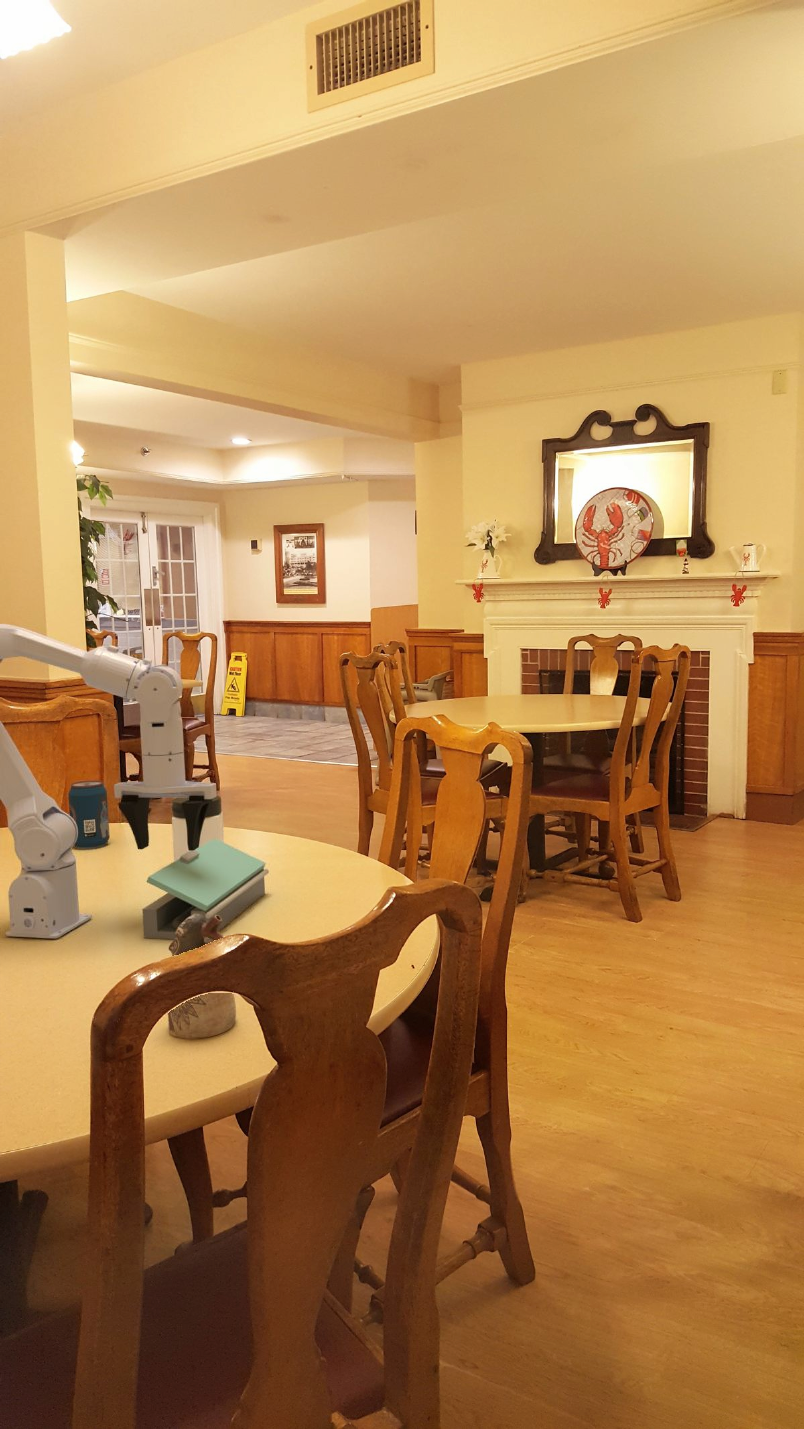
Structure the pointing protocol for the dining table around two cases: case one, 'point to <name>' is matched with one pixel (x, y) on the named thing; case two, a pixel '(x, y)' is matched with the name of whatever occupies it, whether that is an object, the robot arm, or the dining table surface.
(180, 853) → the jar
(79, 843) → the soda can
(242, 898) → the cable duct
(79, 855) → the dining table surface
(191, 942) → the figurine
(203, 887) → the duct lid
